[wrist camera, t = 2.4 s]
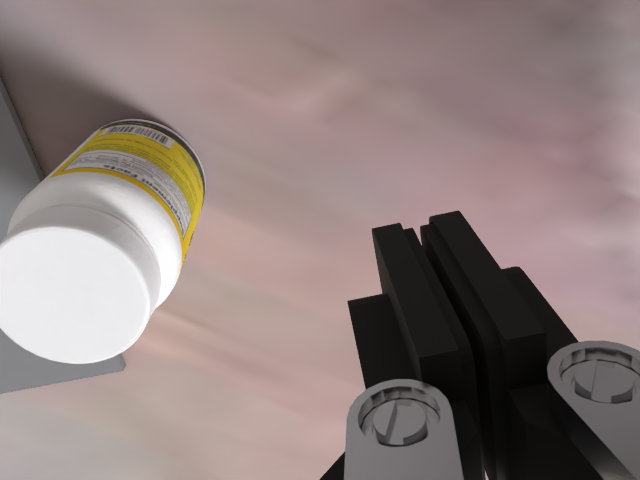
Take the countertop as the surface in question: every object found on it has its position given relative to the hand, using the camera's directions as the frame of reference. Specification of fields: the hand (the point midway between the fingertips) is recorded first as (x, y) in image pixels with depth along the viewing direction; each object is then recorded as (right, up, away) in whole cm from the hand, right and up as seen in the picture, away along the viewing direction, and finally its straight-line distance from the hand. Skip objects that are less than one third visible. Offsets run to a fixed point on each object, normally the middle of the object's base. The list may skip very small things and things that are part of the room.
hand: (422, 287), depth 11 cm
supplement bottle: (-9, +3, +11) cm, 14 cm away
